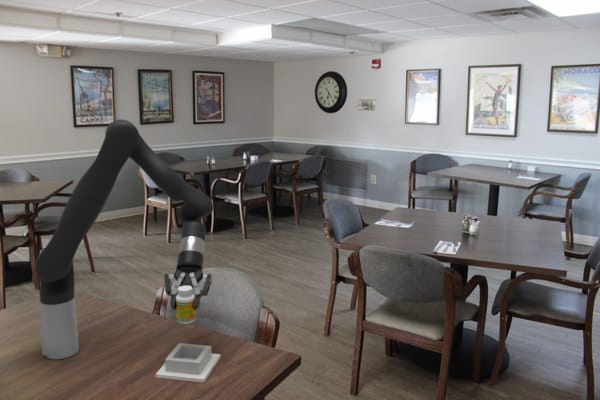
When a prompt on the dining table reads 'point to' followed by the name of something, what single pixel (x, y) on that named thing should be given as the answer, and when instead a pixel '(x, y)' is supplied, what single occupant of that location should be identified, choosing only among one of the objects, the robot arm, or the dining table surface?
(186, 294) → the supplement bottle
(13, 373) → the dining table surface
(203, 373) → the socket block
